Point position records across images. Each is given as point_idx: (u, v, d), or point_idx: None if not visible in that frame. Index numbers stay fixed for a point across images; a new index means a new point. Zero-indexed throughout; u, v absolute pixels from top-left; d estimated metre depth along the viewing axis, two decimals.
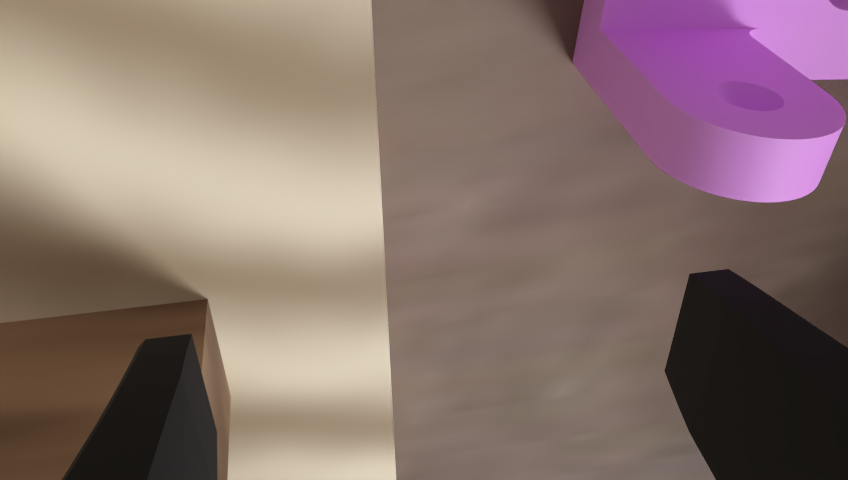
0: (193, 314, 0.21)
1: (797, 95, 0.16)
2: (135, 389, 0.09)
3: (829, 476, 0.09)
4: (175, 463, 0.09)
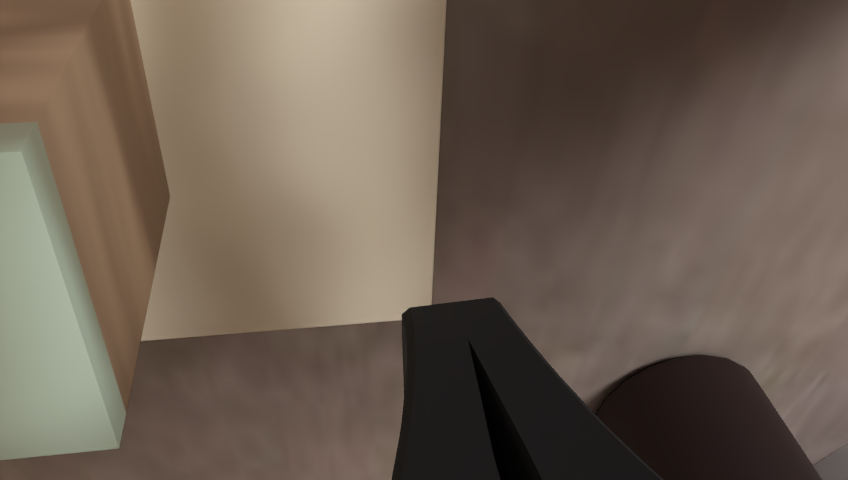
0: None
1: None
2: (431, 351, 0.09)
3: None
4: None
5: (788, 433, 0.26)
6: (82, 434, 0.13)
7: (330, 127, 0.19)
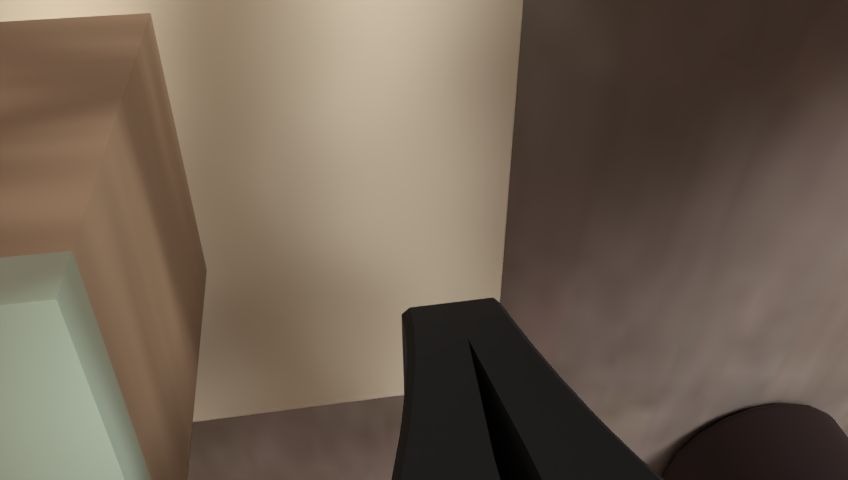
0: None
1: None
2: (431, 351, 0.09)
3: None
4: None
5: None
6: None
7: (387, 187, 0.17)
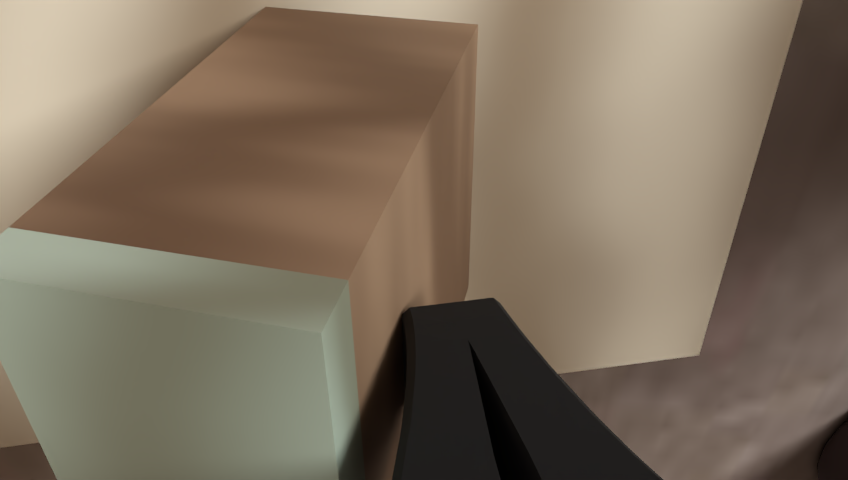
0: None
1: None
2: (431, 351, 0.09)
3: None
4: None
5: None
6: None
7: (647, 162, 0.18)
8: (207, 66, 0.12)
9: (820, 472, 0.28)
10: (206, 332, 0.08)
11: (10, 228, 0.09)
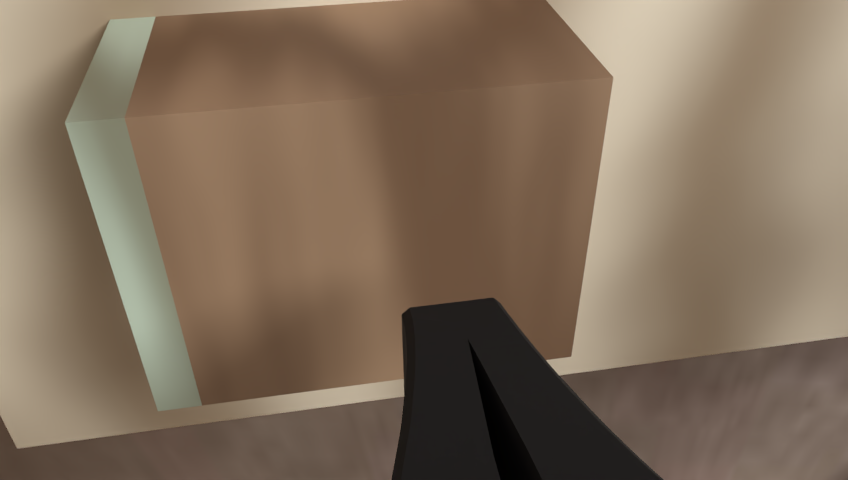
0: None
1: None
2: (431, 351, 0.09)
3: None
4: None
5: None
6: None
7: None
8: (401, 3, 0.14)
9: None
10: None
11: (155, 17, 0.14)
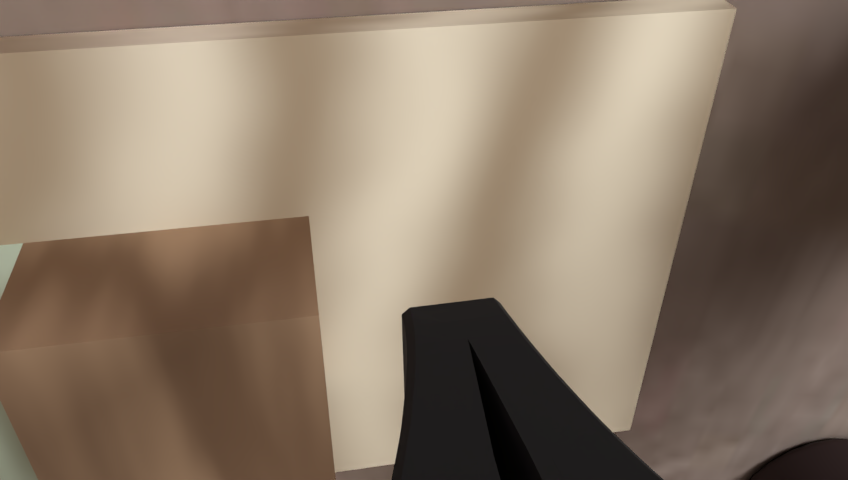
0: None
1: None
2: (431, 351, 0.09)
3: None
4: None
5: None
6: None
7: (582, 300, 0.24)
8: (204, 229, 0.20)
9: None
10: None
11: (23, 244, 0.19)
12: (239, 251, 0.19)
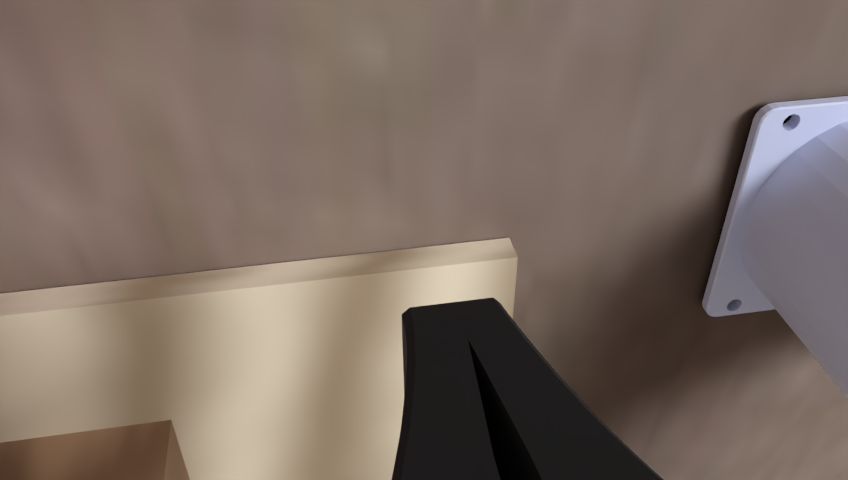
0: None
1: None
2: (431, 351, 0.09)
3: None
4: None
5: None
6: None
7: None
8: (80, 436, 0.24)
9: None
10: None
11: None
12: (105, 461, 0.23)
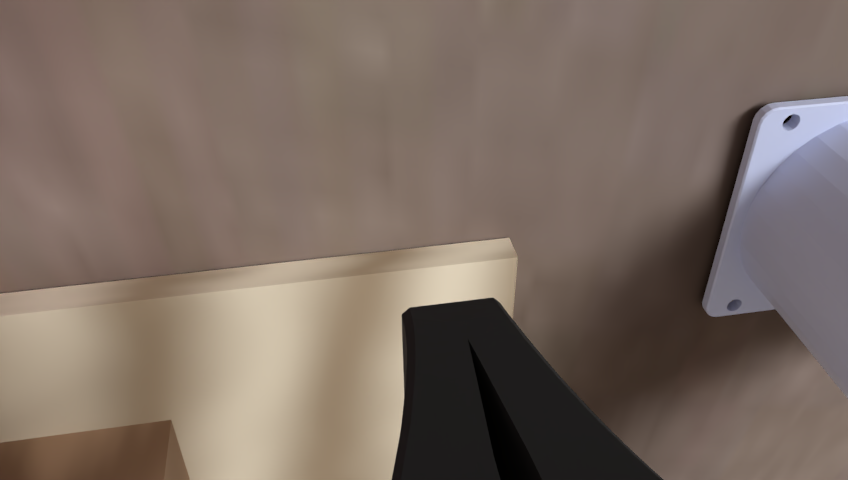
0: None
1: None
2: (431, 351, 0.09)
3: None
4: None
5: None
6: None
7: None
8: (80, 436, 0.24)
9: None
10: None
11: None
12: (105, 461, 0.23)
